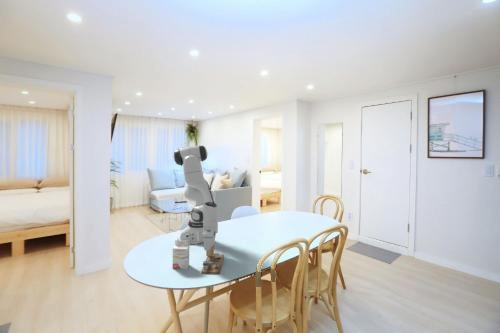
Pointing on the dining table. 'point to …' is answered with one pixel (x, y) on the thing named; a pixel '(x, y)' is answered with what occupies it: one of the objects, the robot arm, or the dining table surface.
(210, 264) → the board
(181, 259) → the ink cartridge box
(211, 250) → the slider
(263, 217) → the dining table surface
